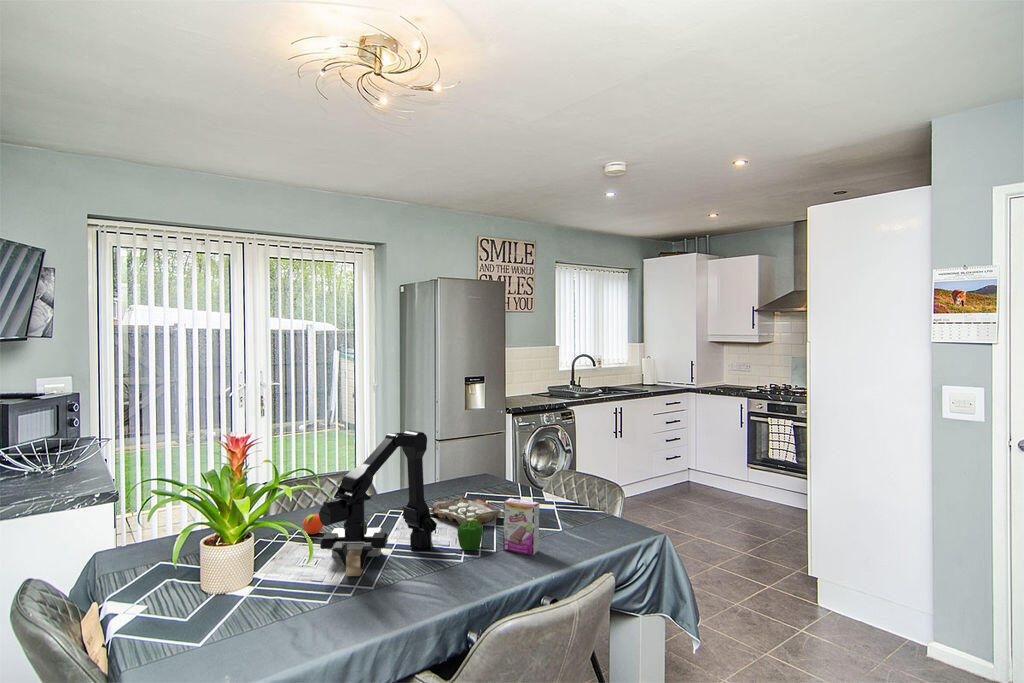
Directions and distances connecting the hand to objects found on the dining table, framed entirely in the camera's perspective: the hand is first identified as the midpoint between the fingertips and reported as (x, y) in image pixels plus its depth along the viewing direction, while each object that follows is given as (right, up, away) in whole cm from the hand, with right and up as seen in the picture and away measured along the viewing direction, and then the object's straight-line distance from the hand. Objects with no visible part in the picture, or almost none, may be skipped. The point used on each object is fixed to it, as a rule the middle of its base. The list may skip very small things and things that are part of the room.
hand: (354, 569), depth 168 cm
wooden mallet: (0, -1, +5) cm, 5 cm away
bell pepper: (+33, -2, +21) cm, 39 cm away
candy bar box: (+50, -2, +19) cm, 53 cm away
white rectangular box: (-3, -1, +12) cm, 13 cm away
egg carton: (+28, -1, +53) cm, 60 cm away
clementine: (-24, -1, +33) cm, 41 cm away
